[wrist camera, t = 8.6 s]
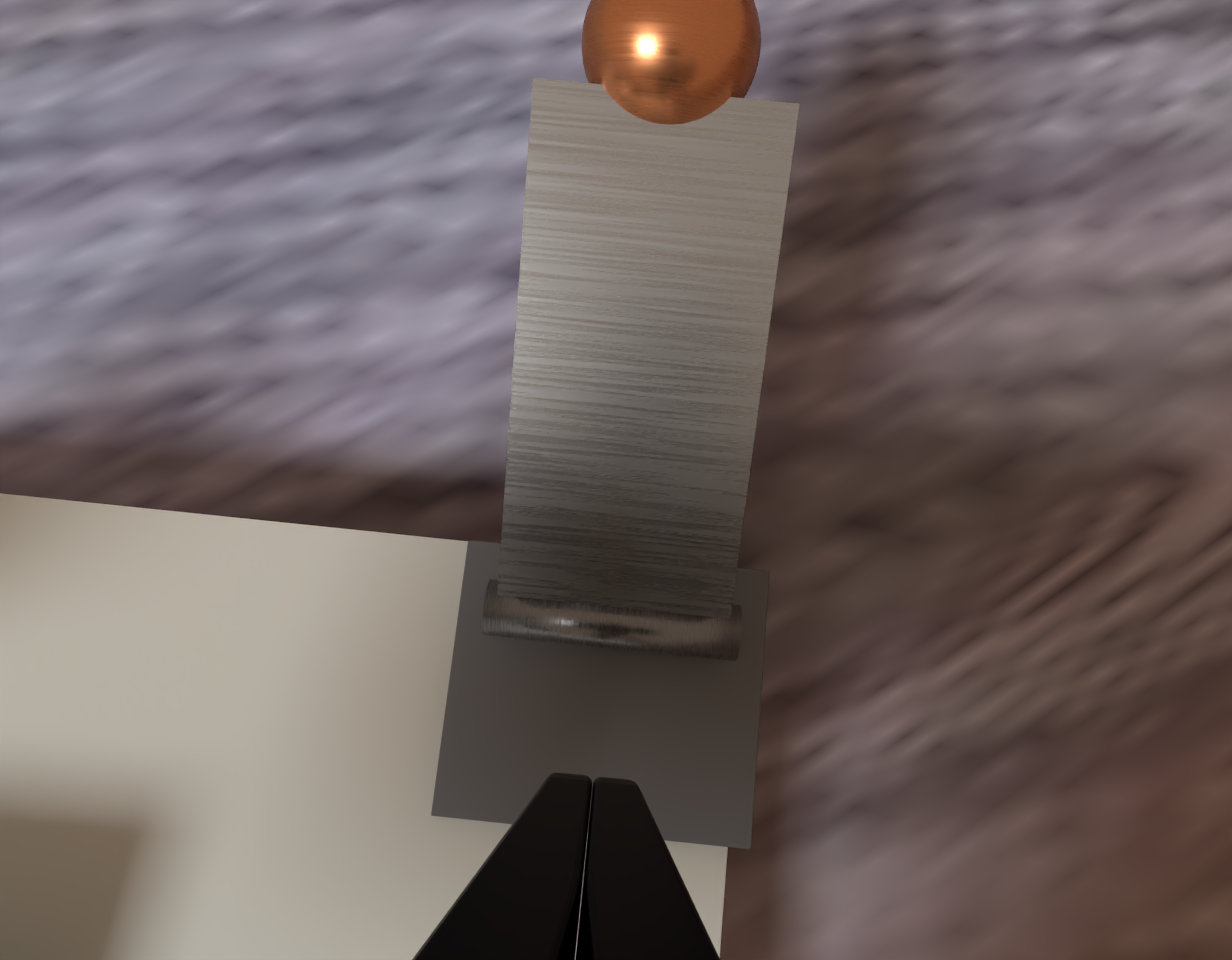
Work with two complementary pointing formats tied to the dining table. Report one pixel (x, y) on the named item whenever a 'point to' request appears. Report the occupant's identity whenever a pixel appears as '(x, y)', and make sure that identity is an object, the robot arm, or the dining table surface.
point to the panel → (312, 735)
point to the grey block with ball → (641, 333)
